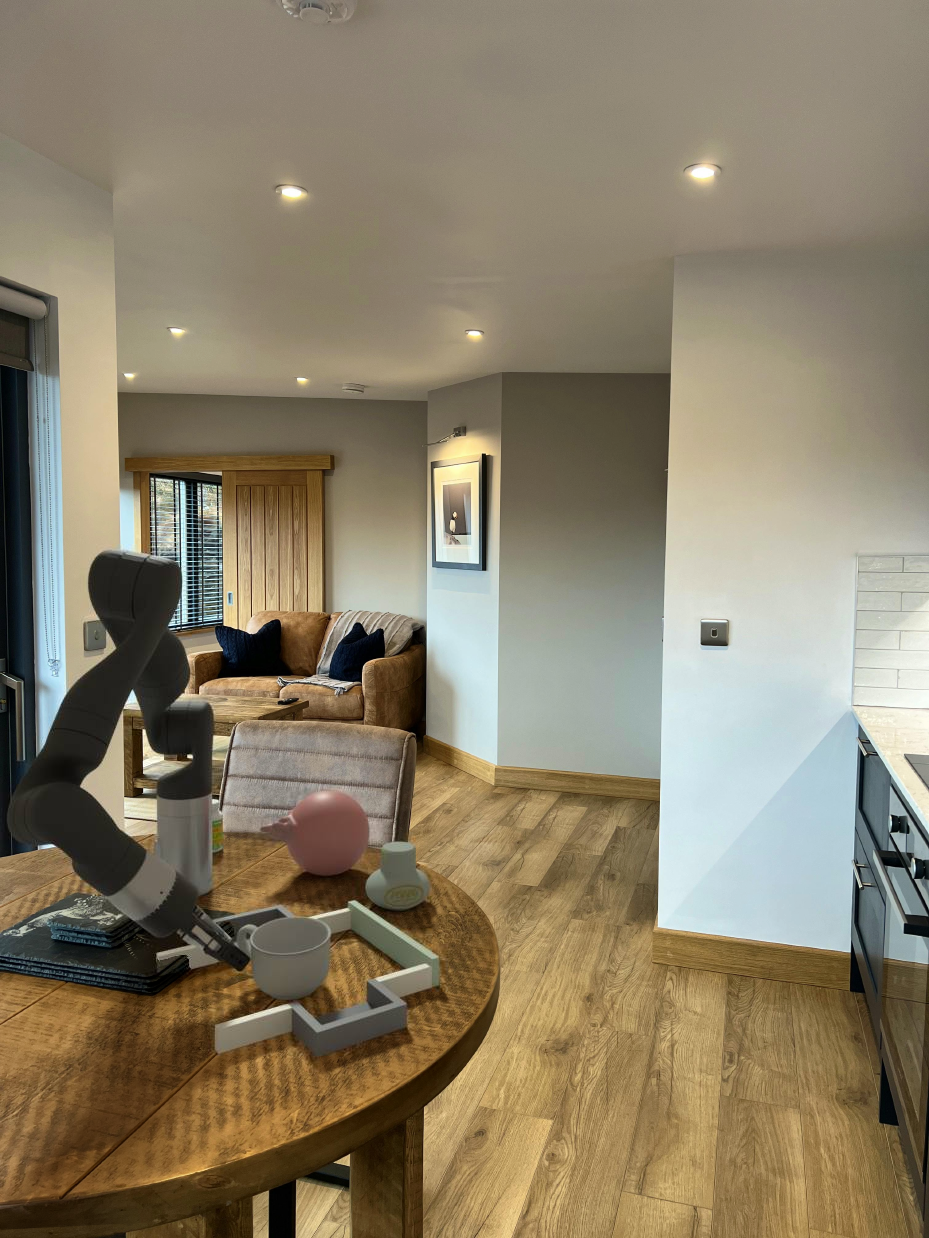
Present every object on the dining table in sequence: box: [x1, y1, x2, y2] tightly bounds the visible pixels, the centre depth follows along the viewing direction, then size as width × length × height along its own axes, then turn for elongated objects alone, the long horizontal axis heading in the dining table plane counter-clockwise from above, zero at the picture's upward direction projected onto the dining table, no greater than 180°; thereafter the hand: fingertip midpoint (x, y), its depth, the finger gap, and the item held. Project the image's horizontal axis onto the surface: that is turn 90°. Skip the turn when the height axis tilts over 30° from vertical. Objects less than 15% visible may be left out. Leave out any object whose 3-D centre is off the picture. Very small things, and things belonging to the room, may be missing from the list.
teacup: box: [237, 916, 332, 1001], centre depth 122 cm, size 14×11×8 cm
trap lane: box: [156, 900, 440, 1058], centre depth 124 cm, size 31×38×4 cm
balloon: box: [259, 789, 371, 877], centre depth 165 cm, size 15×20×15 cm
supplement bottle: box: [212, 798, 224, 854], centre depth 179 cm, size 5×5×10 cm
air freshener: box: [365, 841, 431, 912], centre depth 152 cm, size 11×8×10 cm
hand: (244, 963), depth 120 cm, fingers closed
